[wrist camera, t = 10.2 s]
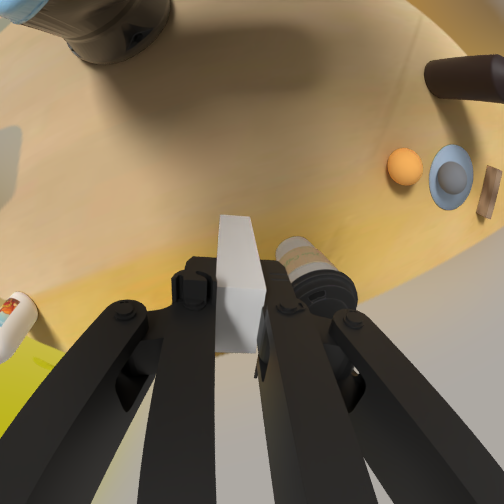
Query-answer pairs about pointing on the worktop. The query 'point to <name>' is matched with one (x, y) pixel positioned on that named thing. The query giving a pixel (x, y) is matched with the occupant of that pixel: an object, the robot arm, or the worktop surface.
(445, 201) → the mark
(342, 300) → the coffee cup
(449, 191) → the ball
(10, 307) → the milk bottle
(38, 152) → the worktop surface
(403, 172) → the ball
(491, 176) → the brown wooden block
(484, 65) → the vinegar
